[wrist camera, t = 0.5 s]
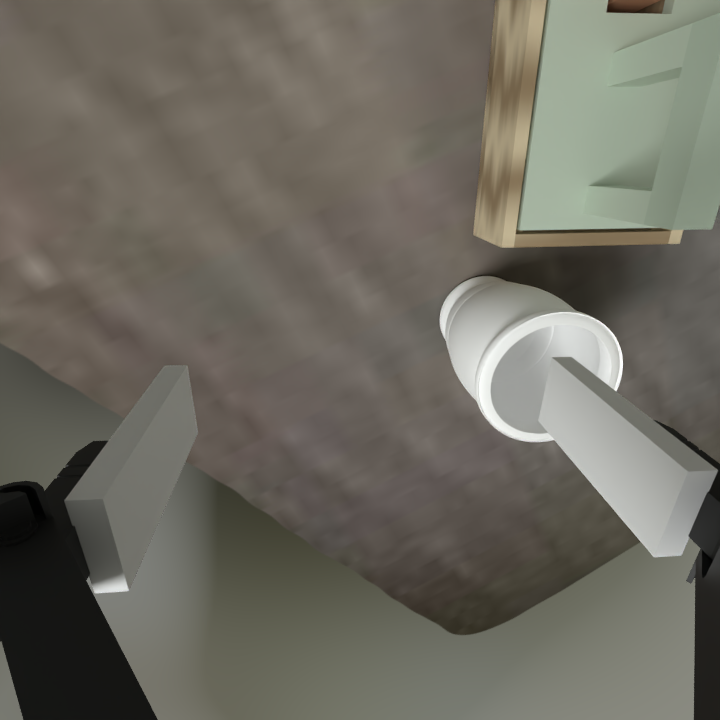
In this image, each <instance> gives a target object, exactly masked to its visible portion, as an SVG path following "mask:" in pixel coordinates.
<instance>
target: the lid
mask: <svg viewBox="0 0 720 720" xmlns="http://www.w3.org/2000/svg"><path fill="white" fill-rule="evenodd" d="M607 5H608V0H546V8H545V16H544V23H543V31H542V38H541V46H540V53H539V61H538V69H537V76H536V84H535V91H534V99H533V106H532V114H531V121H530V129H529V137H528V144H527V152H526V159H525V167H524V174H523V182H522V190H521V197H520V205H519V212H518V220H517V227H516V229H517V230H570V229H621V228H664V229H670V230H694V229H712V228H713V225H714V221H715V218H716V215H717V212H718V208H719V205H720V0H665V2H664V7H663V11H662V14H648V13H606V11H607Z"/></svg>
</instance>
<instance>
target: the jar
mask: <svg viewBox="0 0 720 720" xmlns="http://www.w3.org/2000/svg"><path fill="white" fill-rule="evenodd" d="M440 328H441V332H442V334H443V336H444V338H445V340H446V344H447V348H448V351H449V354H450V358H451V362H452V365H453V368H454V370H455V372H456V374H457V376H458V378H459V380H460V381H461V383H462V384H463V386H464V387H465V388H466V390H467V391H468V392H469V393H470V394H471V396H472V397H473V398H474V399H475V400H476V401H477V403H478V406H479V408H480V410H481V412H482V414H483V415H484V417H485V418H486V419H487V420H488V421H489V423H490V424H491V425H492V426H493V427H494V428H495V429H497V430H498V431H499V432H501V433H502V434H504V435H506V436H508V437H511V438H513V439H516V440H520V441H526V442H545V441H551V440H554V439H553V438H552V436H551V435H550V434H549V433H548V432H547V431H546V429H545V428H544V427H543V426H542V425H541V423H540V422H539V421H538V419H539V415H540V410H541V405H542V401H543V396H544V391H545V387H546V382H547V377H548V372H549V368H550V363H551V358H552V357H572V358H574V359H575V360H576V361H577V362H579V363H580V364H581V365H583V366H584V367H585V368H587V369H588V370H589V371H590V372H592V373H593V374H594V375H596V376H597V377H598V378H599V379H601V380H602V381H603V382H605V383H606V384H607V385H609V386H610V387H611V388H612V389H614V390H615V391H617V388H618V386H619V383H620V380H621V376H622V369H623V358H622V352H621V348H620V345H619V343H618V341H617V339H616V337H615V336H614V334H613V333H612V332H611V330H610V329H609V328H608V327H607V326H605V325H604V324H603V323H601V322H600V321H598V320H597V319H595V318H593V317H591V316H589V315H587V314H585V313H582V312H579V311H576V310H575V309H573V308H572V307H571V306H570V305H568V304H567V303H566V302H564V301H563V300H561V299H560V298H558V297H557V296H555V295H553V294H551V293H549V292H547V291H544V290H542V289H539V288H536V287H532V286H528V285H523V284H518V283H514V282H508V281H505V280H503V279H500V278H497V277H493V276H480V277H475V278H472V279H469V280H467V281H465V282H463V283H461V284H460V285H458V286H457V287H456V288H455V289H453V290H452V292H451V293H450V294H449V295H448V296H447V298H446V300H445V301H444V303H443V306H442V309H441V312H440Z"/></svg>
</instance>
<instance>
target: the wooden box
mask: <svg viewBox="0 0 720 720" xmlns="http://www.w3.org/2000/svg"><path fill="white" fill-rule="evenodd" d="M664 2H665V0H660V1H658V2H656V3H654V4H652V5H650V6H648V7H645V8H643V9H641V10H639V11H637V12H635V13H648V14H662V11H663V7H664ZM545 8H546V0H495V10H494V21H493V31H492V42H491V53H490V63H489V74H488V84H487V95H486V105H485V116H484V127H483V137H482V148H481V158H480V169H479V179H478V190H477V201H476V211H475V222H474V232H473V235H475V236H477V237H479V238H481V239H483V240H486V241H488V242H490V243H492V244H494V245H497V246H499V247H501V248H512V247H556V246H600V245H644V244H680V240H681V236H682V233H683V230H670V229H664V228H621V229H570V230H517V229H516V227H517V220H518V212H519V205H520V197H521V190H522V182H523V174H524V167H525V159H526V152H527V144H528V137H529V129H530V121H531V114H532V106H533V99H534V91H535V84H536V76H537V69H538V61H539V53H540V46H541V38H542V31H543V23H544V16H545Z"/></svg>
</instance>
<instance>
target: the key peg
mask: <svg viewBox="0 0 720 720" xmlns="http://www.w3.org/2000/svg"><path fill="white" fill-rule="evenodd" d="M658 1H660V0H608V5H607V11H606V13H635V12H637V11H639V10H641V9H643V8H645V7H648V6H650V5H652V4H654V3H656V2H658Z"/></svg>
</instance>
